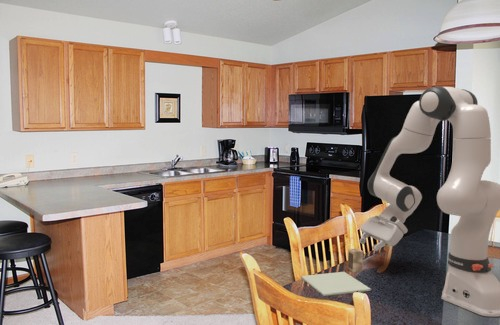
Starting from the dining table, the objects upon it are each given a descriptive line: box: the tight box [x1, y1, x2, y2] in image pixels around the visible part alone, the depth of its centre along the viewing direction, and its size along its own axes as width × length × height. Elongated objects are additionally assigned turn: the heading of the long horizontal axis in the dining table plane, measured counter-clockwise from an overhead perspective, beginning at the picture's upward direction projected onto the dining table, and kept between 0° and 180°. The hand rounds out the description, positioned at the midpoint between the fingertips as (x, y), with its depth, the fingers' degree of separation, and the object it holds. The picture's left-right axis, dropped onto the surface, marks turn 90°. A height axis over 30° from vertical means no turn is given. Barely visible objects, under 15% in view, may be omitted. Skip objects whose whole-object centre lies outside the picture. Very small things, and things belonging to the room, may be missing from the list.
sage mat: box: [300, 271, 372, 297], centre depth 155 cm, size 18×18×1 cm
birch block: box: [347, 248, 364, 273], centre depth 170 cm, size 4×4×8 cm
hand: (367, 246), depth 172 cm, fingers open, 8 cm apart
